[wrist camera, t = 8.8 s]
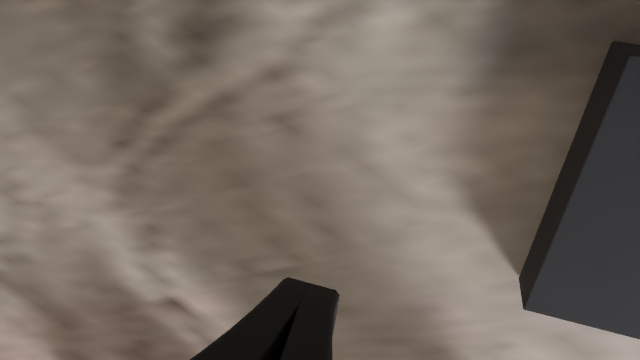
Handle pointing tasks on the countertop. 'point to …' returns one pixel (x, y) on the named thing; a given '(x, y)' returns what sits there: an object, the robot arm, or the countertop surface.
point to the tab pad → (595, 212)
